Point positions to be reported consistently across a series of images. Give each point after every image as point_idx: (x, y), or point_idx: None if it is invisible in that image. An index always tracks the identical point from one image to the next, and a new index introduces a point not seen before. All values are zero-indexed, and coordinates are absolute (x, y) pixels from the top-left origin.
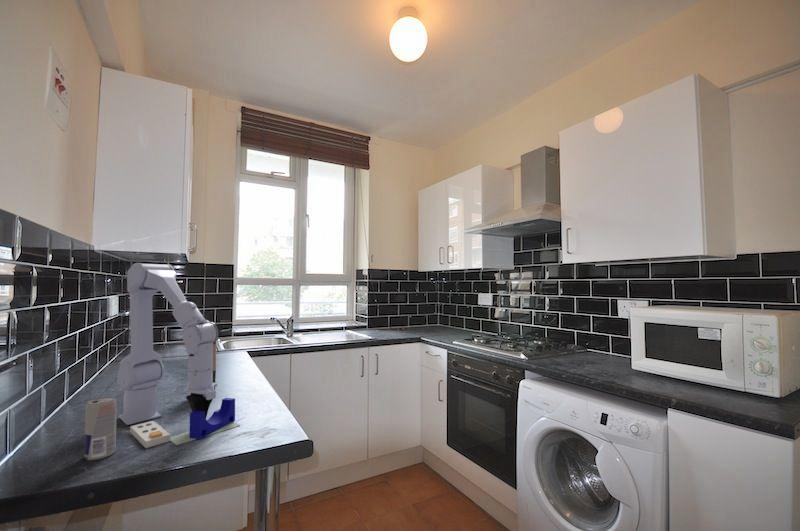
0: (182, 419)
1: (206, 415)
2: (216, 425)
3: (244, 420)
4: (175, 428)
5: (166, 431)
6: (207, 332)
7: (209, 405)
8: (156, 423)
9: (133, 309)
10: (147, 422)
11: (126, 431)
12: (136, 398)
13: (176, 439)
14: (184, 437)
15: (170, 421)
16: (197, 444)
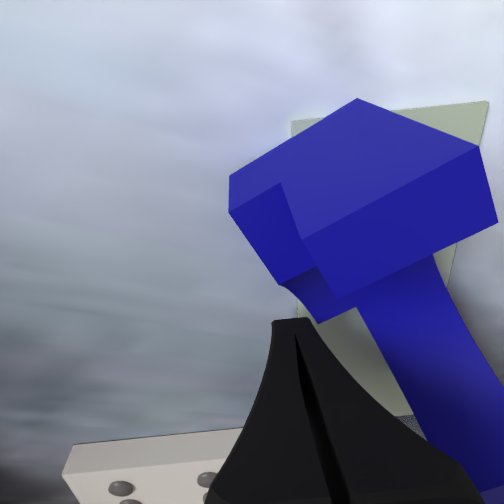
0: (31, 348)
1: (323, 341)
2: (440, 278)
3: (402, 11)
4: (179, 388)
5: None
6: None
7: (375, 400)
8: (122, 469)
9: None
10: (76, 489)
11: (76, 500)
12: None
13: None
14: (365, 384)
15: (33, 392)
16: (494, 355)
